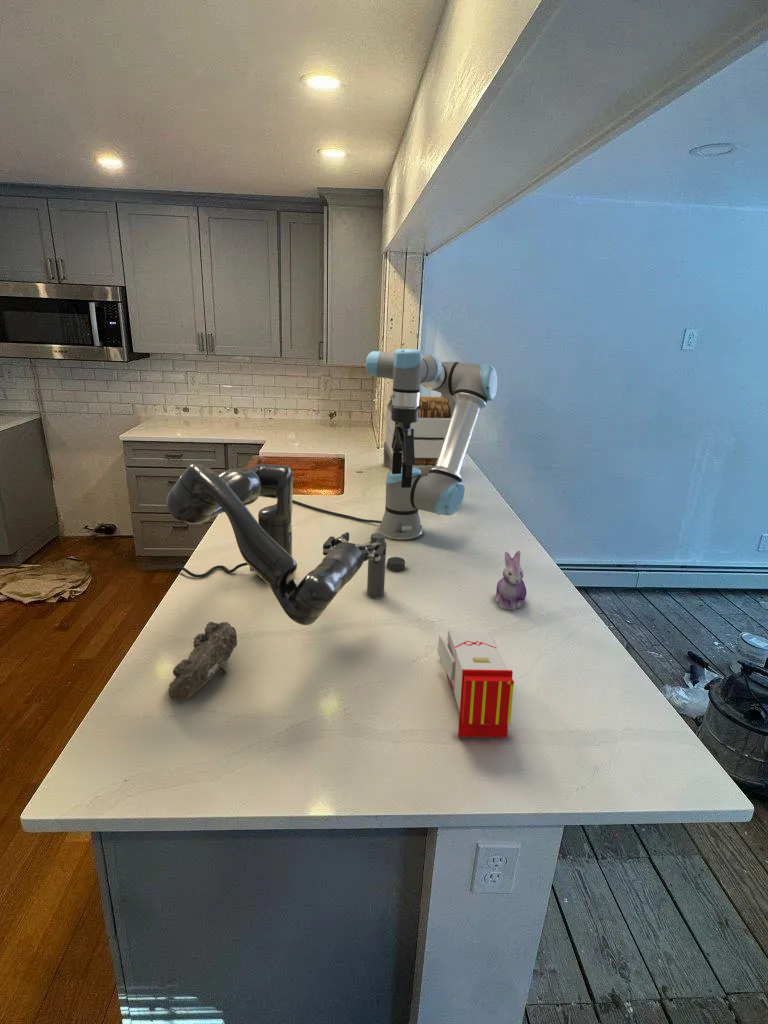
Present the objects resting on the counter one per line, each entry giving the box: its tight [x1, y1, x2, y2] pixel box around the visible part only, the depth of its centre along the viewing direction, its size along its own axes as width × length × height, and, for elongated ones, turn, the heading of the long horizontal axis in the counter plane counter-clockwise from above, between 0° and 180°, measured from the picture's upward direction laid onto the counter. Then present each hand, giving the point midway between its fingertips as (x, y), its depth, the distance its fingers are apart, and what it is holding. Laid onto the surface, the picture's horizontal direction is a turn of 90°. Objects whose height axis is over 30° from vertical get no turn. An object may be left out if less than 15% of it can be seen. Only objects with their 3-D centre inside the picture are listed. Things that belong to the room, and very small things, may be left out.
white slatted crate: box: [383, 393, 462, 475], centre depth 268 cm, size 34×33×41 cm
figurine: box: [495, 550, 527, 611], centre depth 153 cm, size 9×10×15 cm
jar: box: [366, 532, 387, 599], centre depth 154 cm, size 5×5×18 cm
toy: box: [437, 628, 515, 738], centre depth 117 cm, size 12×13×30 cm
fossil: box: [167, 621, 238, 701], centre depth 119 cm, size 22×10×15 cm
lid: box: [386, 556, 406, 572], centre depth 173 cm, size 6×6×2 cm
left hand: (364, 538), depth 140 cm, fingers open, 8 cm apart
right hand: (401, 480), depth 165 cm, fingers open, 13 cm apart
